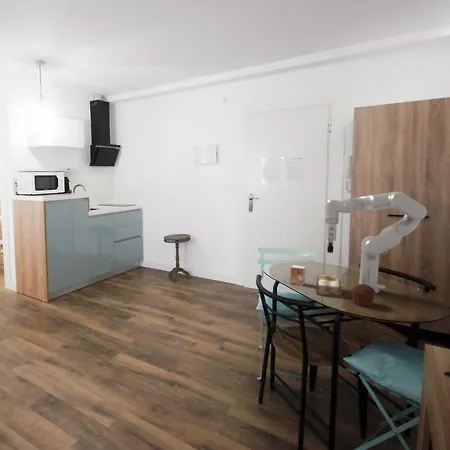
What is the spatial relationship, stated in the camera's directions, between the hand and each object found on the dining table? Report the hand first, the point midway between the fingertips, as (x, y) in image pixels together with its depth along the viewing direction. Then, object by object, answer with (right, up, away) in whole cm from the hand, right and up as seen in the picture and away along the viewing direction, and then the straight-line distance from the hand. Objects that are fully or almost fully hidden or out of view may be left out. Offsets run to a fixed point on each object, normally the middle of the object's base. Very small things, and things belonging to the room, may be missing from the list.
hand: (330, 251), depth 205 cm
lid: (-3, -17, -8) cm, 20 cm away
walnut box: (-3, -22, -7) cm, 24 cm away
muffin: (+9, -25, -26) cm, 37 cm away
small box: (-18, -20, +8) cm, 28 cm away
